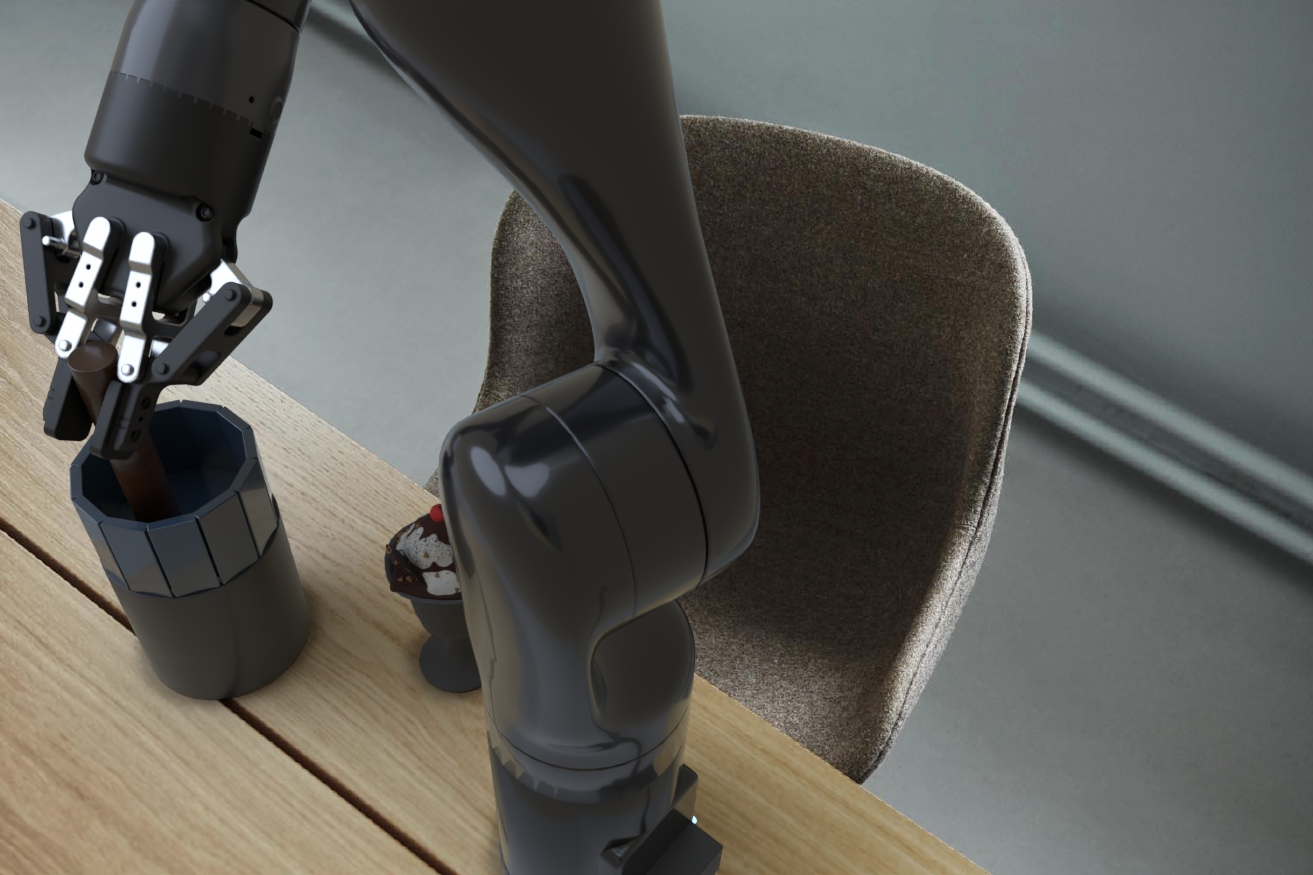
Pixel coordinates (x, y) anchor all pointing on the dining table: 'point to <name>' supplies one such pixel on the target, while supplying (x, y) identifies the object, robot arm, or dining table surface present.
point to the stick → (144, 467)
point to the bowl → (182, 504)
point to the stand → (225, 627)
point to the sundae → (434, 600)
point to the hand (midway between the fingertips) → (87, 446)
